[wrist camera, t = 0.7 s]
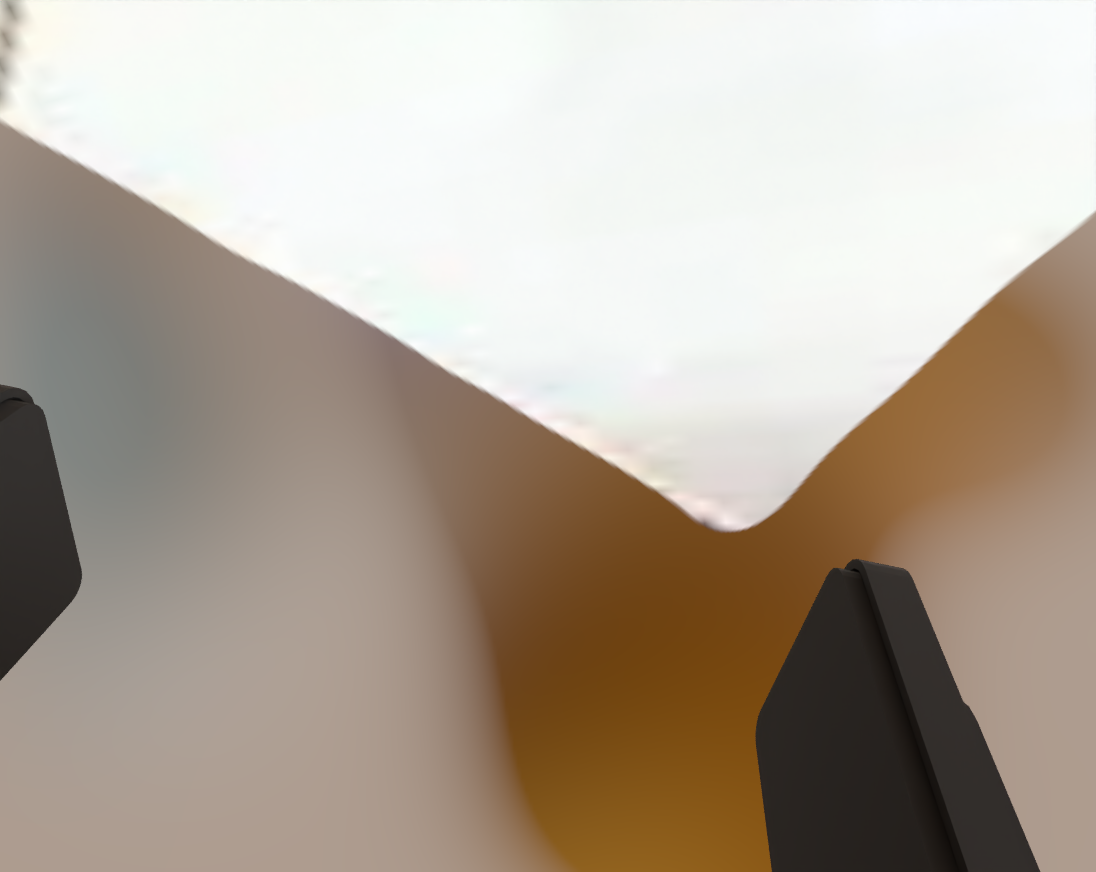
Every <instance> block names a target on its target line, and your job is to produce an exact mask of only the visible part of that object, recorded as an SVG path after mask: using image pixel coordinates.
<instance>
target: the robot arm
mask: <svg viewBox="0 0 1096 872" xmlns="http://www.w3.org/2000/svg"><path fill="white" fill-rule="evenodd" d="M81 579H82V571H81V566H80V562H79V557H78V553H77V549H76V545H75V540H74V536H73V532H72V528H71V523H70V519H69V515H68V511H67V507H66V503H65V498H64V494H63V489H62V485H61V481H60V477H59V472H58V468H57V464H56V460H55V455H54V451H53V447H52V443H51V439H50V434H49V430H48V426H47V422H46V418H45V415H44V412H43V410H42V409H41V408H40V407H39V406H37V405H35V404H34V402H33V399H32V397H31V396H30V395H29V394H28V393H27V392H26V391H24V390H22V389H19V388H15V387H10V386H5V385H0V680H1V679H2V678H3V677H4V676H5V675H6V674H7V673H8V671H9V670H10V669H11V668H12V667H13V666H14V665H15V664H16V663H17V662H18V660H19V659H20V658H21V657H22V656H23V655H24V654H25V653H26V652H27V651H28V649H29V648H30V647H31V646H32V645H33V644H34V643H35V642H36V641H37V639H38V638H39V637H40V636H41V635H42V634H43V633H44V632H45V631H46V629H47V628H48V627H49V626H50V625H51V624H52V623H53V622H54V621H55V620H56V618H57V617H58V616H59V615H60V614H61V613H62V612H63V610H65V608H66V607H67V606H68V605H69V604H70V603H71V602H72V600H73V599H74V597H75V596H76V594H77V592H78V590H79V587H80V584H81ZM756 749H757V755H758V756H757V757H758V764H759V772H760V780H761V788H762V796H763V804H764V812H765V820H766V827H767V836H768V843H769V851H770V859H771V867H772V872H1040V870H1039V868H1038V865H1037V863H1036V860H1035V858H1034V856H1033V853H1032V851H1031V849H1030V846H1029V844H1028V841H1027V839H1026V837H1025V834H1024V832H1023V829H1022V827H1021V825H1020V822H1019V820H1018V817H1017V815H1016V813H1015V810H1014V808H1013V806H1012V803H1011V801H1010V798H1009V796H1008V794H1007V791H1006V789H1005V786H1004V784H1003V782H1002V779H1001V777H1000V774H999V772H998V770H997V768H996V765H995V763H994V760H993V758H992V755H991V753H990V751H989V748H988V746H987V744H986V741H985V739H984V736H983V734H982V732H981V729H980V727H979V724H978V722H977V720H976V718H975V716H974V715H973V713H972V711H971V710H970V708H969V706H967V705H966V704H965V703H964V702H963V700H962V698H961V695H960V693H959V690H958V688H957V686H956V683H955V681H954V678H953V676H952V674H951V671H950V669H949V666H948V664H947V661H946V659H945V656H944V654H943V651H942V649H941V647H940V644H939V642H938V639H937V637H936V634H935V632H934V630H933V627H932V625H931V623H930V620H929V617H928V615H927V613H926V610H925V608H924V605H923V603H922V600H921V598H920V596H919V593H918V591H917V589H916V586H915V583H914V581H913V579H912V577H911V575H910V574H909V572H908V571H906V570H905V569H903V568H898V567H894V566H889V565H884V564H879V563H874V562H869V561H864V560H859V559H855V560H852V561H850V562H849V563H848V564H847V566H846V567H845V569H840V568H833V569H832V570H831V571H830V572H829V574H828V575H827V577H826V579H825V581H824V583H823V585H822V587H821V589H820V591H819V593H818V595H817V597H816V600H815V601H814V603H813V606H812V607H811V610H810V611H809V614H808V616H807V618H806V620H805V622H804V624H803V626H802V628H801V630H800V632H799V634H798V636H797V638H796V640H795V642H794V644H793V646H792V648H791V650H790V652H789V654H788V656H787V658H786V660H785V662H784V664H783V666H782V668H781V670H780V672H779V674H778V676H777V678H776V680H775V682H774V684H773V686H772V688H771V690H770V692H769V695H768V697H767V698H766V701H765V703H764V705H763V707H762V709H761V711H760V713H759V716H758V720H757V726H756Z"/></svg>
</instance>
